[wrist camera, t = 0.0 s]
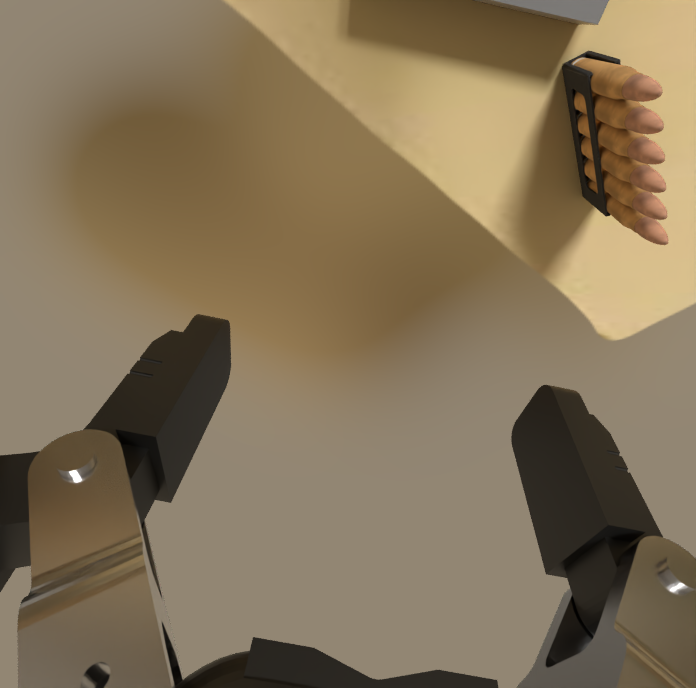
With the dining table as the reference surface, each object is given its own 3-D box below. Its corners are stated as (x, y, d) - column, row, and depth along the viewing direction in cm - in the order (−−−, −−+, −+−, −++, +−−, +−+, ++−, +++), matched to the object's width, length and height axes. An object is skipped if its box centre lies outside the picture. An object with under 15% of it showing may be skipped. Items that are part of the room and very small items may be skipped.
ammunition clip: (561, 64, 29) (637, 83, 20) (589, 49, 28) (681, 63, 19) (583, 197, 35) (649, 261, 25) (606, 188, 34) (684, 250, 25)
